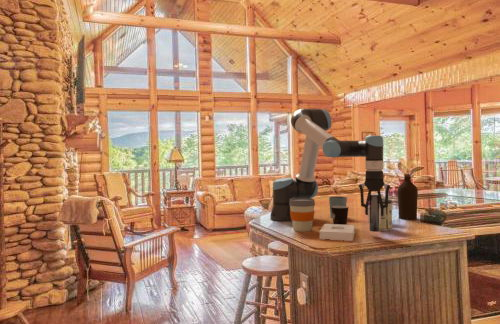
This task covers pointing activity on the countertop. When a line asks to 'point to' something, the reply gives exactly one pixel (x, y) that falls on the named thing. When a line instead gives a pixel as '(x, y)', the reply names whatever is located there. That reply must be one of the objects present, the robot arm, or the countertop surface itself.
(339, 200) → the drinking glass
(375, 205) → the steel pin
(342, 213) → the coffee mug
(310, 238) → the countertop surface
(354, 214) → the countertop surface
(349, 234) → the block with square hole
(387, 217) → the coffee can
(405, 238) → the countertop surface
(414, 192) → the olive oil
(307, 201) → the reusable coffee cup
